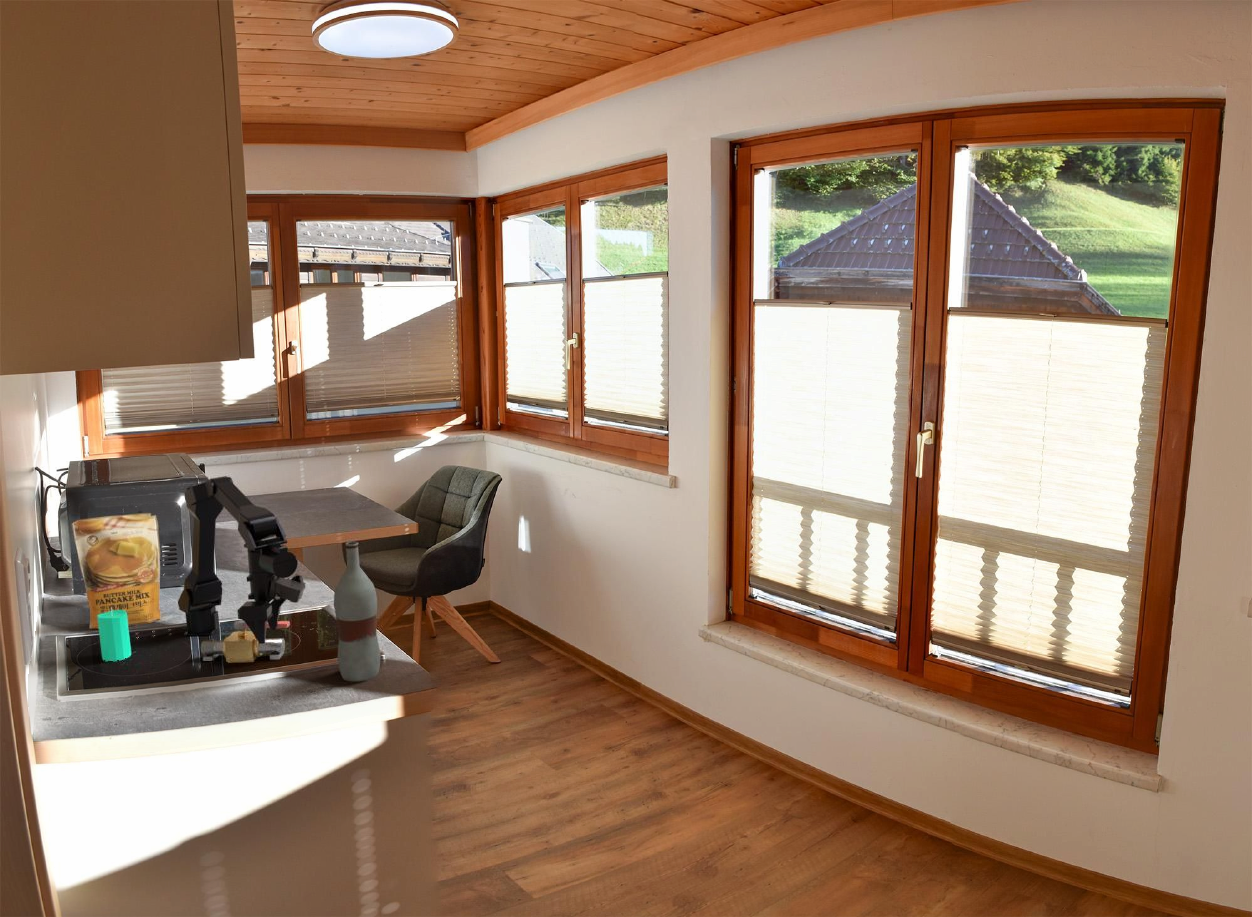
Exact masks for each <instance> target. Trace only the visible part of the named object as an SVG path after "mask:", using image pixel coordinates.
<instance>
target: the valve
mask: <svg viewBox="0 0 1252 917" xmlns="http://www.w3.org/2000/svg"><path fill="white" fill-rule="evenodd" d="M285 650H286V641H285V638H279V637H278V638H265V643H263V644H260V643H259V642H258V640H257V639H256V637H255V636H254V634H253V633H252V631H251V630H250V631H249V630H247V628H246V629H243V630H237V631H233V632H232V633H231V634H230V635H228V636H225V638H224V640H223V639H220V640H217V639H216V640H203V641H202V642H201V645H200V652H201V655H202V656H203V657H202V661H211V660H213V659H214V658H215V659H216V658H218V656H219V655H223V657H224V658H225V660H226V662H228V663H229V664H230V663H231V664H232V663H233V664H234V663H235V664H236V663H254V662H255V661H256V659H257V658H258V657H259V658H260V657H262V655H263V654H269V660H275V661H276V660H280V659H281V658H282V657H283V655H284V654H285ZM215 659H214V660H215ZM214 660H213V661H214ZM228 663H227V664H228Z"/></svg>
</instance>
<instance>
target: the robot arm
mask: <svg viewBox="0 0 1252 917" xmlns="http://www.w3.org/2000/svg"><path fill="white" fill-rule="evenodd" d="M184 500H185V503H186V508H187V510H189V512H190V514H191V516H193V529H192V530H193V532H192V536H193V537H192V563H191V564H192V566H191V567H192V568H191V571H190V572H189V574H188V575H187V576H186V578H185V580H184V585H183V589H182V592H181V594H180V596H179V597H178V600H177V605H178V610H179V611H181V612H183V613H184V614H185V622H186V630H187V631H186V632H184V636H189V637H190V636H191V637H192V636H210V635H212V634H214V633H215V632H216V630H218V629H219V628H220V627H221V624H220V619H219V611H218V610H217V609H216V607H217V606H222V601H223V600H222V598H223V582H222V581H221V579H219V577H218V576H217V574H216V573H215V553H216V552H215V551H216V528H217V527H216V526H217V525H216V522H217V518H218V517H219V516H220V514H221V513H222V511H223V510H224V509H225V510H226V511H227V512H229V514H230V515H231V516H232V517H233V518H234V519H235V521H236V522H237V531H238V533H239V535H240V537H241V539H242V540H243V541H244V544H243V548H245V549H246V550H247V560H248V563H247V564H248V570H249V571H248V573H249V574H248V576H246V582H247V583H248V582H249V584H250V592H249V594H247V601H245V602H244V603H242V605H241V606H240V607H239V608H238V609H237V619H238V620H242V621H244V622H245V623H246V624H247V625H248V627H249V628H248V629H249V630H250V631H252V633H253V634H254V636H255V637H256V639H257V640H258V642H259V643H260V644H263V643H265V639H267V638H266V636H267V634H266V633H267V628H266V625H267V622H268V624H269V627H270V628H269V629H270V630H271V631H276V630H277V629H278V628H277V624H278V621H279V618H280V613H281V610H282V605H283V604H284V603H285V602H286V601H289V602H291V603H293V604H294V603H295V604H296V603H298V602H299V601H300V600H301V599H302V597H303V594H304V590H305V589H306V588H307V587H306V582H304V577H303V575H301V574H298V573H296V571H297V568H298V564H299V563H298V558H297V557H296V555H295V554H294V553H292V552H291V551H289V548H288V546H287V545H286V544H287V543H288V539H287V538H286V537H287V534H286V532H285V530H284V529H283V527H282V525H281V523H280V521H279V520H278V517H277V516H276V515H275V514H274V513H273V512H272V511H270V510H269V509H267V508H266V507H261V506H258V505H255V504H254V503H253V502H252V501H251V500H250V499H249V498H248V497H247V496H246V495H245V494H244V493H243V492H242V490H240V489H239V487H238V486H236V485H235V484H234V481H233V478H232V477H230V476H227V475H224V476H218V477H213V478H212V477H211V478H209V479H208V480H206V481H204V482H201V483H198V484H192V485H189V486H188V487H187V488H186V489H185V492H184ZM294 573H295V575H294V576H292V575H293V574H294ZM290 577H291V578H290ZM250 600H251V601H250Z"/></svg>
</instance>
